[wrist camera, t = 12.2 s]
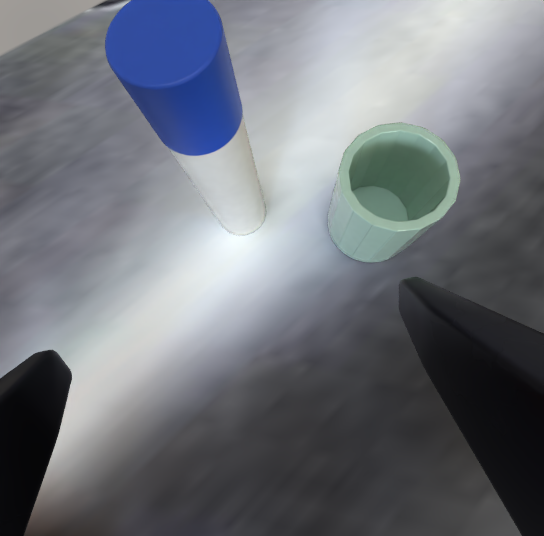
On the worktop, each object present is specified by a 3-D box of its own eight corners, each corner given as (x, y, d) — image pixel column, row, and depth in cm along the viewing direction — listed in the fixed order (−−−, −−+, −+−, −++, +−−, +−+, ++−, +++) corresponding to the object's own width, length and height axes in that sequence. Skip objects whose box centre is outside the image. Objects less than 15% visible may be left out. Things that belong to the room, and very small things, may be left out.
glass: (428, 238, 18) (484, 195, 13) (354, 277, 18) (378, 251, 12) (383, 170, 19) (417, 104, 14) (313, 207, 19) (318, 155, 13)
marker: (277, 215, 19) (246, 36, 8) (237, 246, 19) (146, 110, 8) (246, 179, 20) (176, -34, 8) (207, 210, 19) (81, 33, 8)
